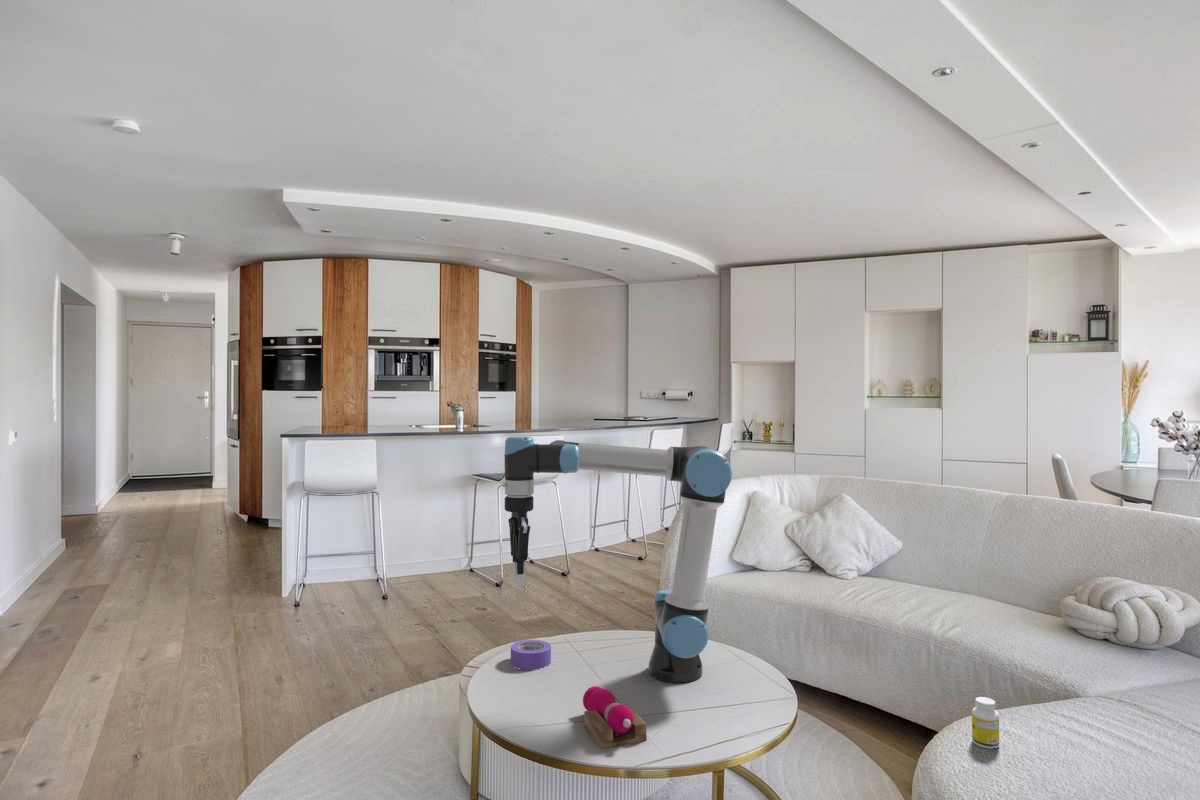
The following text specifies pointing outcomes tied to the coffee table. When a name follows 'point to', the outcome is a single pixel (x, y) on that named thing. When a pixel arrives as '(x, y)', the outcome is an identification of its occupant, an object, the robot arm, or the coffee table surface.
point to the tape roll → (530, 654)
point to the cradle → (609, 737)
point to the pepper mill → (608, 708)
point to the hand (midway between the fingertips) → (518, 585)
